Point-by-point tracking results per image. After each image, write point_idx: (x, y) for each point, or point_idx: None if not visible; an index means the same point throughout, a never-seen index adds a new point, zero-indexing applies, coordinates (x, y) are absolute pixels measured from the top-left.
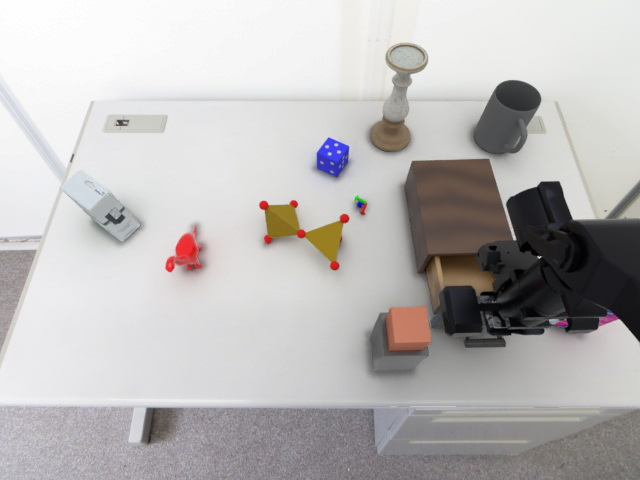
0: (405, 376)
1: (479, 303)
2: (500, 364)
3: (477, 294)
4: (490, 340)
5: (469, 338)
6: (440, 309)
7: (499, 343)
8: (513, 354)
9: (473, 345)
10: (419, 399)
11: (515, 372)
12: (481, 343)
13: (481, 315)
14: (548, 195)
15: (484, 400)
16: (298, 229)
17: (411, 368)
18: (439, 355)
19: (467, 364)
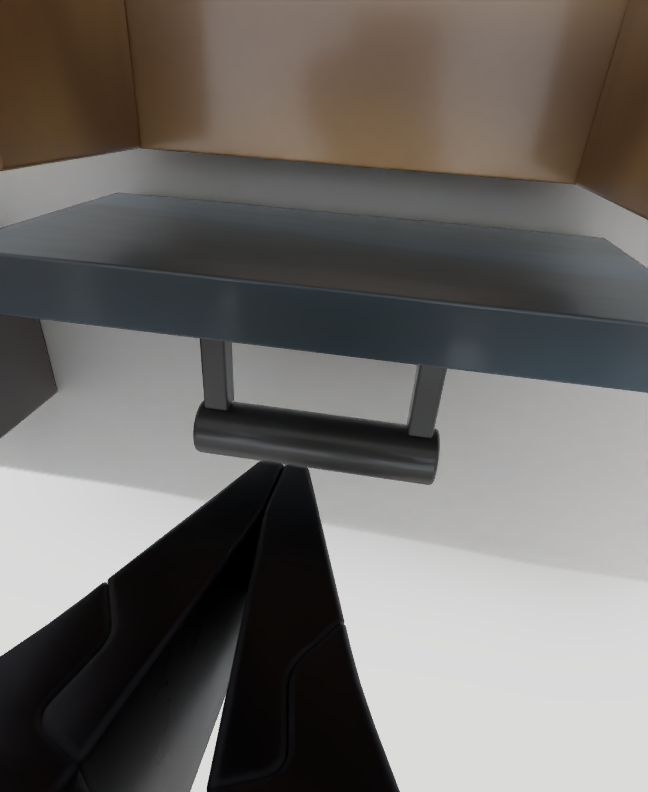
0: (41, 408)
1: (434, 116)
2: (441, 431)
3: (447, 28)
4: (341, 451)
5: (225, 409)
6: (151, 136)
7: (391, 474)
8: (525, 404)
9: (234, 454)
10: (97, 480)
11: (493, 468)
12: (280, 457)
13: (275, 344)
14: None
15: (326, 522)
16: None
17: (22, 415)
18: (177, 356)
19: (294, 408)
